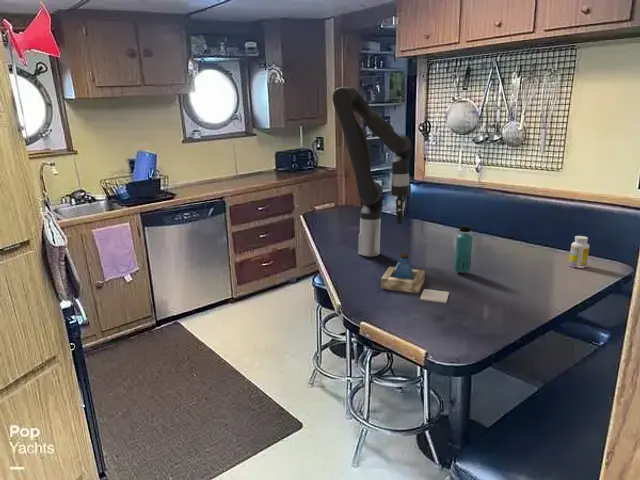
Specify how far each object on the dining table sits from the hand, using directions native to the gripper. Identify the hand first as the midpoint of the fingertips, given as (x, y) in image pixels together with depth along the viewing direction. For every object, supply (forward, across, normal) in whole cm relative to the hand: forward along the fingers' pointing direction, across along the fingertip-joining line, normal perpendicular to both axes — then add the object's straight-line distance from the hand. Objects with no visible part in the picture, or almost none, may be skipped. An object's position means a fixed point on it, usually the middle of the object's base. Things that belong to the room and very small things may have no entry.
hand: (400, 221), depth 201 cm
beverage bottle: (+19, +12, +26) cm, 34 cm away
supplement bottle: (+21, -7, +73) cm, 77 cm away
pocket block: (+18, +29, +3) cm, 34 cm away
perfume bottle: (+18, +29, +3) cm, 35 cm away
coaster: (+18, +39, +15) cm, 45 cm away
